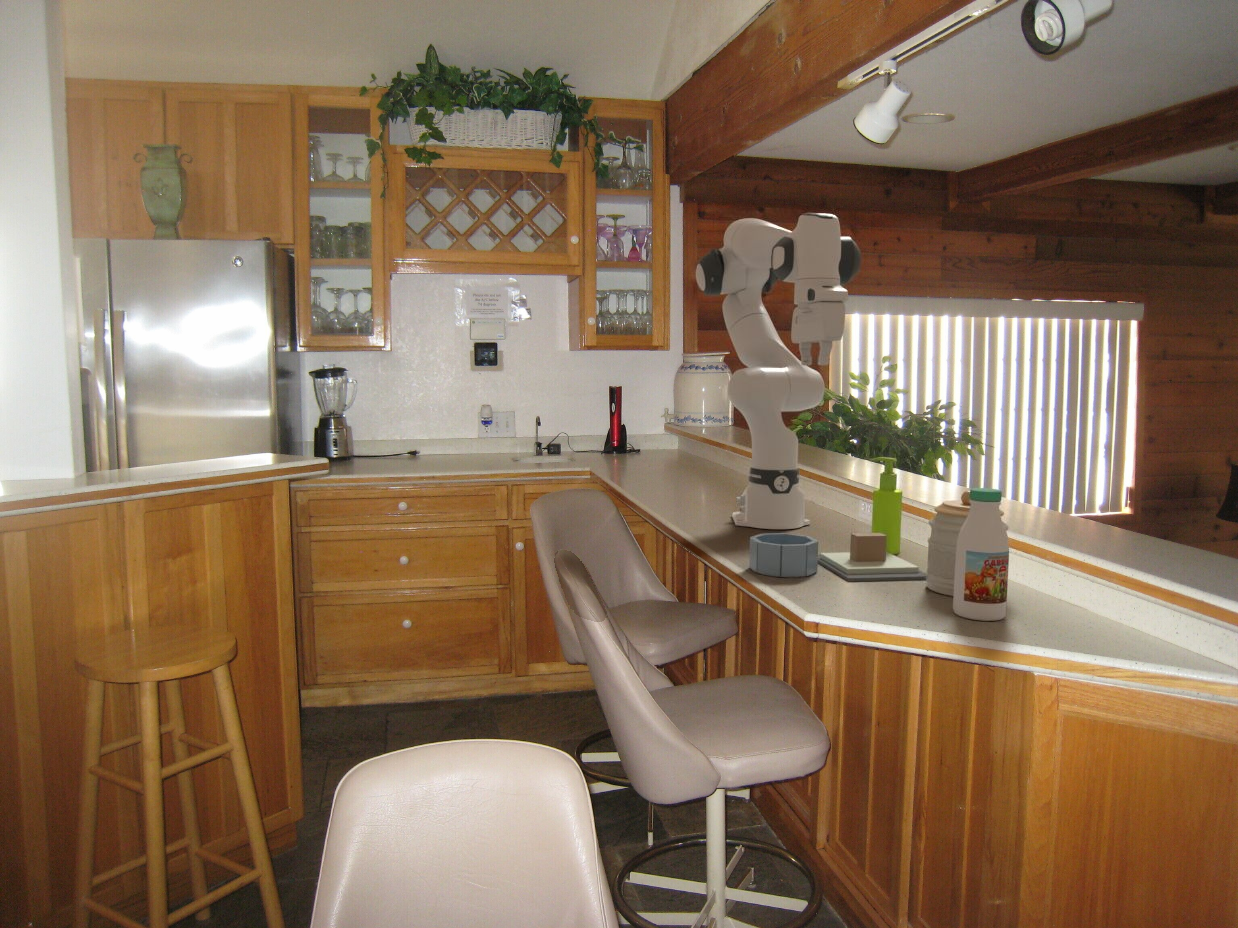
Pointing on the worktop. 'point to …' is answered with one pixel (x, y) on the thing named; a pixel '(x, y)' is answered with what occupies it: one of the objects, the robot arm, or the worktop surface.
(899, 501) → the soap dispenser
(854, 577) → the mat
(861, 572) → the cover
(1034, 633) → the worktop surface
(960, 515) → the jar
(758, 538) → the bowl
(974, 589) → the milk bottle
